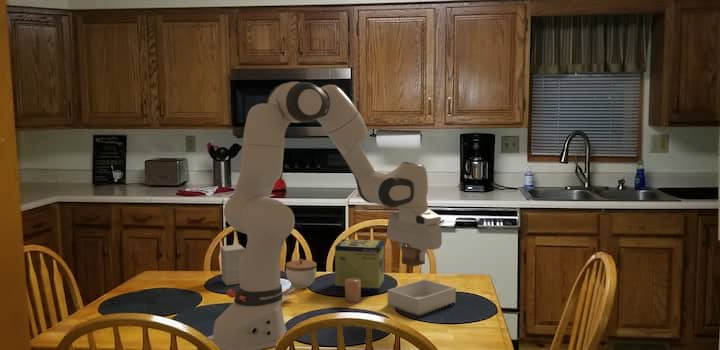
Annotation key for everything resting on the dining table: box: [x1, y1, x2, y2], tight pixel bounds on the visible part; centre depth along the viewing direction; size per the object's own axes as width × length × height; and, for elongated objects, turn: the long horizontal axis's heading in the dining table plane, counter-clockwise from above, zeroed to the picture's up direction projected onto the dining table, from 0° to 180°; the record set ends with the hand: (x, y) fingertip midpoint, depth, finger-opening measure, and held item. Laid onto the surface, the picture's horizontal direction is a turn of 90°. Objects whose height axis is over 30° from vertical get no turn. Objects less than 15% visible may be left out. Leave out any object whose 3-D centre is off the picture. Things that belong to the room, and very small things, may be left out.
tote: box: [387, 278, 457, 317], centre depth 203 cm, size 13×17×5 cm
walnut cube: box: [401, 245, 426, 268], centre depth 199 cm, size 5×5×5 cm
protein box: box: [334, 238, 385, 293], centre depth 221 cm, size 10×16×16 cm
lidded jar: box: [285, 258, 317, 289], centre depth 223 cm, size 11×11×9 cm
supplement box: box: [220, 243, 246, 286], centre depth 228 cm, size 7×7×13 cm
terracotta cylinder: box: [344, 278, 362, 305], centre depth 206 cm, size 5×5×7 cm
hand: (413, 258), depth 199 cm, fingers closed on walnut cube, 5 cm apart
